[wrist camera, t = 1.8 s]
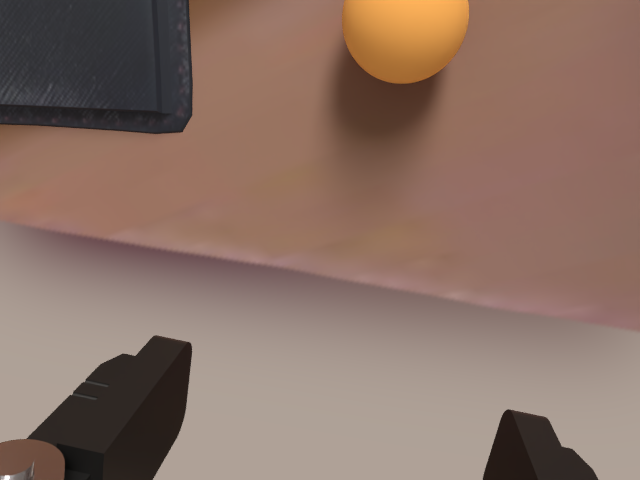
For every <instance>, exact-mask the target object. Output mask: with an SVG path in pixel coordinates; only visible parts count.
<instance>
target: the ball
mask: <svg viewBox="0 0 640 480" xmlns="http://www.w3.org/2000/svg"><path fill="white" fill-rule="evenodd" d="M468 20H469V5H468V0H345V1H344V6H343V13H342V27H343V34H344V38H345V42H346V44H347V47H348V49H349V51H350V53H351V55H352V56H353V58H354V59H355V61H356V62H357V63H358V64H359V65H360V66H361V67H362V68H363V69H364V70H365V71H366V72H368V73H369V74H370V75H372V76H374V77H376V78H378V79H380V80H383V81H386V82H390V83H397V84H407V83H414V82H418V81H421V80H424V79H426V78H428V77H431V76H432V75H434V74H436V73H437V72H439V71H440V70H441V69H442V68H444V67H445V66H446V65H447V64H448V63H449V62H450V61H451V60H452V58H453V57H454V56H455V54H456V53H457V51H458V50H459V48H460V46H461V44H462V42H463V40H464V37H465V34H466V31H467V26H468Z"/></svg>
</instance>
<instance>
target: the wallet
mask: <svg viewBox="0 0 640 480" xmlns="http://www.w3.org/2000/svg"><path fill="white" fill-rule="evenodd" d="M192 89H193V82H192V61H191V40H190V19H189V0H0V124H11V125H39V126H55V127H70V128H86V129H101V130H116V131H129V132H141V133H153V134H160V133H175V132H183V130H184V128H185V127H186V125H187V123H188V121H189V120H190V118H191V116H192Z"/></svg>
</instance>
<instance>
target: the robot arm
mask: <svg viewBox="0 0 640 480" xmlns="http://www.w3.org/2000/svg"><path fill="white" fill-rule="evenodd" d="M191 357H192V346H191V343H189V342H185V341H181V340H175V339H171V338H166V337H161V336H153V337H152V338H151V339H150V340H149V342H148V343H147V344H146V345H145V346H144V347H143V348H142V349H141V350H140V351H139V353H138V354H137V355H136V356H132V355H128V354H121V355H119V356H117V357H115V358H113V359H111V360H109V361H106V362H104V363H102V364H101V365H100V366H99V367H97V369H95V371H94V372H92V374H91V375H90V376H89V377H88V378H87V379H86V381H85V383H84V382H83V383H82V384H81V385H80V386H79V387H78V388H77V389H76V390H75V391H74V392H73V395H70V396H69V397H68V398H67V399H66V400H65V401H64V402H63V403H62V404H61V405H60V406H59V407H58V408H57V409H56V410H55V411H54V412H53V413H52V414H51V415H50V416H49V417H48V418H47V419H46V420H45V421H44V422H43V423H42V424H41V425H40V426H39V427H38V428H37V429H36V430H35V431H34V432H33V433H32V434H31V435H30V436H29V437H28V438H27V439H20V440H11V441H6V442H2V443H0V480H153V478H154V476H155V475H156V473H157V471H158V469H159V468H160V466H161V464H162V462H163V461H164V459H165V457H166V456H167V454H168V452H169V450H170V449H171V447H172V445H173V443H174V442H175V440H176V438H177V436H178V434H179V431H180V429H181V426H182V422H183V419H184V415H185V410H186V403H187V394H188V384H189V375H190V366H191ZM483 480H598V478H597V477H596V474H595V473H594V471H593V469H592V468H591V467H590V466H589V465H587V463H585V461H584V460H583V459H582V458H581V457H580V456H579V455H578V454H577V453H576V452H575V451H574V450H573V449H570V448H565V447H562V446H561V444H560V442H559V440H558V438H557V436H556V434H555V432H554V430H553V428H552V426H551V424H550V422H549V420H548V419H547V418H546V417H543V416H537V415H533V414H528V413H523V412H518V411H514V410H506V411H505V412H504V413H503V415H502V418H501V420H500V423H499V427H498V430H497V434H496V437H495V440H494V443H493V446H492V449H491V453H490V456H489V459H488V462H487V465H486V468H485V472H484V476H483Z"/></svg>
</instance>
